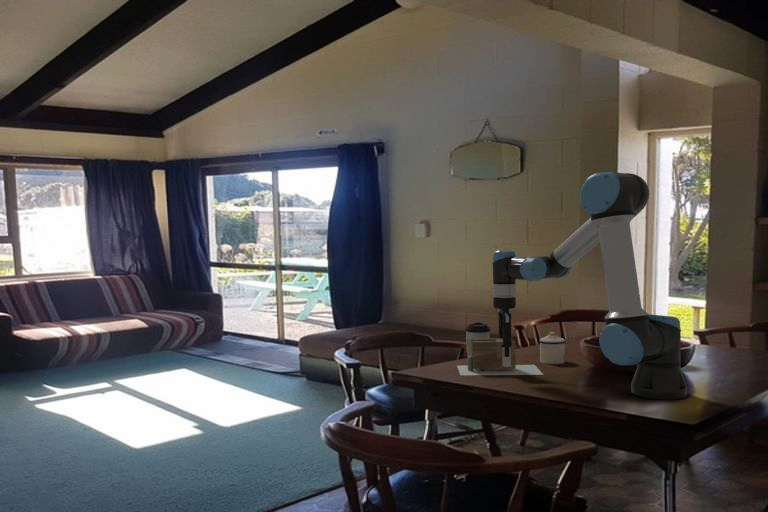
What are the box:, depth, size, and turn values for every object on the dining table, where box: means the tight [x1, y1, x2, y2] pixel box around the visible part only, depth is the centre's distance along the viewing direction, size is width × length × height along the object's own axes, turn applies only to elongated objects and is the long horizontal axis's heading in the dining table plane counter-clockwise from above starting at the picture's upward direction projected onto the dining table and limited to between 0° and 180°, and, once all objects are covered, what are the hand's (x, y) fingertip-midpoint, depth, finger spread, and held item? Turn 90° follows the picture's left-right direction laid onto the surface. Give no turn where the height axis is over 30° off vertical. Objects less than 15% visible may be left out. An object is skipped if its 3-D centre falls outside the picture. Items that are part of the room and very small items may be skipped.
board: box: [456, 356, 545, 376], centre depth 228 cm, size 16×27×6 cm, turn 88°
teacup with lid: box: [539, 331, 566, 365], centre depth 242 cm, size 12×9×12 cm
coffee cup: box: [465, 322, 491, 358], centre depth 242 cm, size 9×9×15 cm
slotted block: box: [471, 337, 517, 369], centre depth 228 cm, size 7×14×9 cm, turn 87°
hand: (505, 363), depth 228 cm, fingers closed on slotted block, 7 cm apart
